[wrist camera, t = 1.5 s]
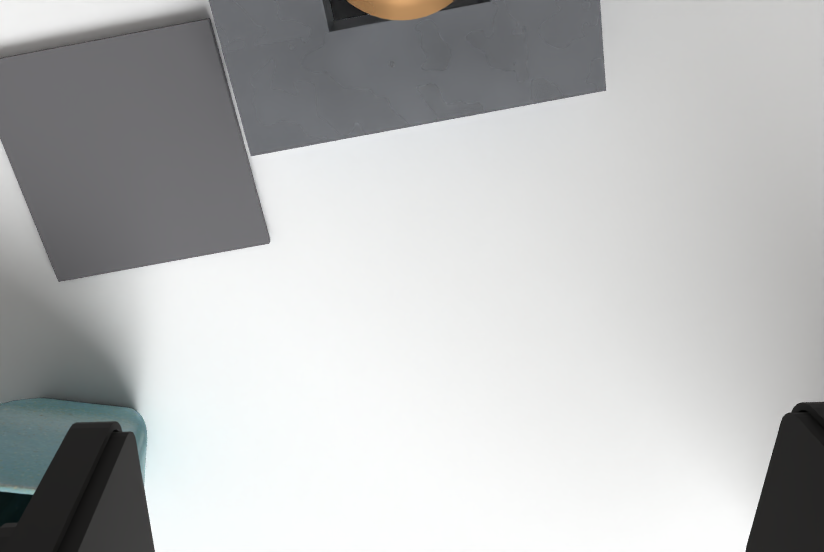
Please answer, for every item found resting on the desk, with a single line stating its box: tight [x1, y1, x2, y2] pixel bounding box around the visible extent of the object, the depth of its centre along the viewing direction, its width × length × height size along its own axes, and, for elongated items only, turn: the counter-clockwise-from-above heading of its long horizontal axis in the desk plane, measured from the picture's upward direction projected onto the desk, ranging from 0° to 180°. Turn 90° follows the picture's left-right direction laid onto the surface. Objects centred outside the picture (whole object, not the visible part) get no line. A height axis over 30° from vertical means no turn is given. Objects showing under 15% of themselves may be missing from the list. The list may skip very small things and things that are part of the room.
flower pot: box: [0, 398, 147, 527], centre depth 35 cm, size 9×9×9 cm
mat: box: [0, 18, 270, 282], centre depth 33 cm, size 10×10×1 cm
